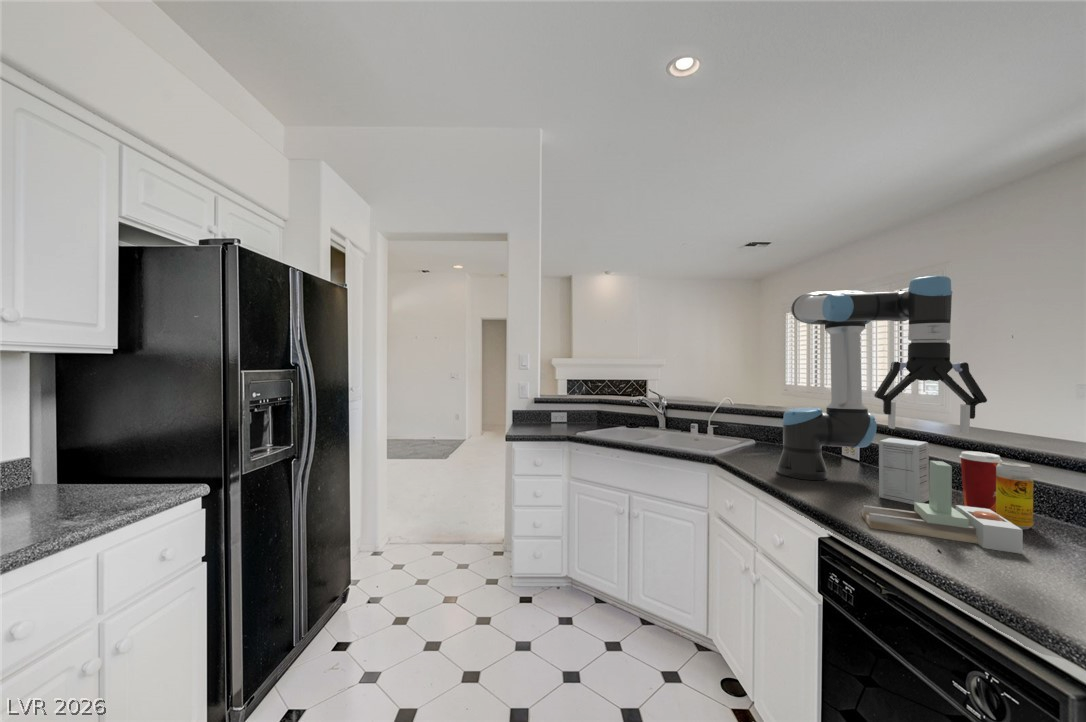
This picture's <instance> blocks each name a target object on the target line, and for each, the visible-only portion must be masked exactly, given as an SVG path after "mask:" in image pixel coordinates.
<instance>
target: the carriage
mask: <svg viewBox="0 0 1086 722" xmlns="http://www.w3.org/2000/svg"><path fill="white" fill-rule="evenodd" d="M952 473H953V466H952V465H950V464H948V463H946V462H944V461H942V460H941V461H939V460H929V500H928V503H926V502H925V503H917V502H914V505H913V507H914V508H913V509H914V510H913V512H917V513H918V514H919V515H920V516H921V517H922V518H923V519H924V520H925V521H926V522H927V523H934V524H941V525H949V526H956V527H964V528H969V519H968V518H966V517H965V516H964V515H962V514H961V513H960V512H958V511H957V510H956V508H954V507H953V506H952V502H953V501H952V497H953V496H952V494H953V493H952V490H953V489H952V488H953V487H952V486H953V483H952V482H953V479H952V478H953V474H952Z"/></svg>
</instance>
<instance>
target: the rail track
mask: <svg viewBox="0 0 1086 722" xmlns="http://www.w3.org/2000/svg"><path fill="white" fill-rule="evenodd" d="M861 516H862V518H863V519H864V520H865V523H866V524H867V525H868V526H869V528H870V529H875V530H876V529H877V530H883V531H890V532H896V533H902V534H903V533H904V534H910V535H917V536H924V537H932V538H938V539H945V540H952V541H958V542H963V543H965V542H966V543H972V544H978V536H976V528H975V527H973V526H969V528H964V527H956V526H949V525H941V524H934V523H927V522H926V521H925V520H924V519H923V518H922V517H921V516H920V515H919V514H918V513H917V512H916V511H914V510H913V511H911V510H904V509H897V508H896V509H895V508H888V507H880V506H873V505H867V504H866V505H865V504H863V505H862V510H861ZM978 545H979V544H978Z"/></svg>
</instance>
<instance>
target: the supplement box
mask: <svg viewBox="0 0 1086 722" xmlns="http://www.w3.org/2000/svg"><path fill="white" fill-rule="evenodd" d="M929 447H930V446H929V442H927V441H922V440H921V441H920V440H912V439H911V440H910V439H905V438H904V439H903V438H893V437H888V438H884V439H882V440H881V439H880V440H879V441H878V471H879V472H878V497H879V498H881V499H884V500H885V499H887V500H890V501H895V502H900V503H904V504H910V505H913V506H914V502H917V503H925V504H926V502H929V459H930V457H929V454H930V453H929V451H930V450H929Z"/></svg>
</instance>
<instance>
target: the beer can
mask: <svg viewBox="0 0 1086 722" xmlns="http://www.w3.org/2000/svg"><path fill="white" fill-rule="evenodd" d="M995 513H997V514H998V515H1000V516H1001V517H1003V518H1005V519H1006V520H1008V521H1009V522H1011V523H1012V524H1014V525H1016V526H1017V527H1019V528H1020V529H1022V530H1030V528H1032V527H1033V526H1034V469H1033V468H1032V466H1031V465H1030V464H1026V463H1020V462H1015V461H1003V462H999V463H998V465H997V466H996V512H995Z"/></svg>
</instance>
